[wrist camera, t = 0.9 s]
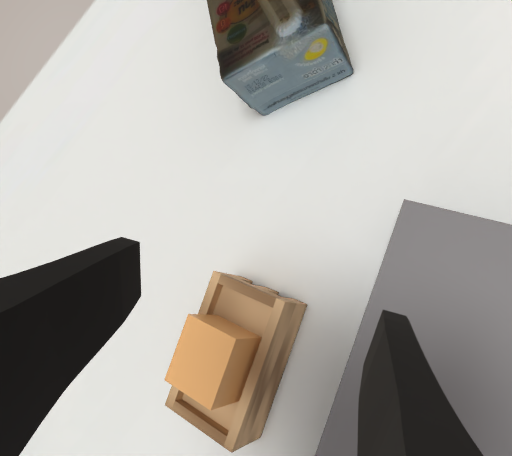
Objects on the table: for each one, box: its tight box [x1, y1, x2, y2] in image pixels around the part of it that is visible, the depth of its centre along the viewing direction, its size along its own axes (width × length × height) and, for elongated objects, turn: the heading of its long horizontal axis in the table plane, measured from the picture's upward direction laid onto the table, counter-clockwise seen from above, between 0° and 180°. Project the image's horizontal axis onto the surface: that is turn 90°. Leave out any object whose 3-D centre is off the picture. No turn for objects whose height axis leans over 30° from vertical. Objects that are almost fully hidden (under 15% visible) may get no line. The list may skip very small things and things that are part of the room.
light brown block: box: [165, 314, 262, 411], centre depth 24 cm, size 4×4×3 cm
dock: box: [315, 199, 512, 456], centre depth 20 cm, size 18×12×3 cm, turn 158°
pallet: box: [165, 271, 307, 452], centre depth 26 cm, size 9×5×4 cm, turn 158°
